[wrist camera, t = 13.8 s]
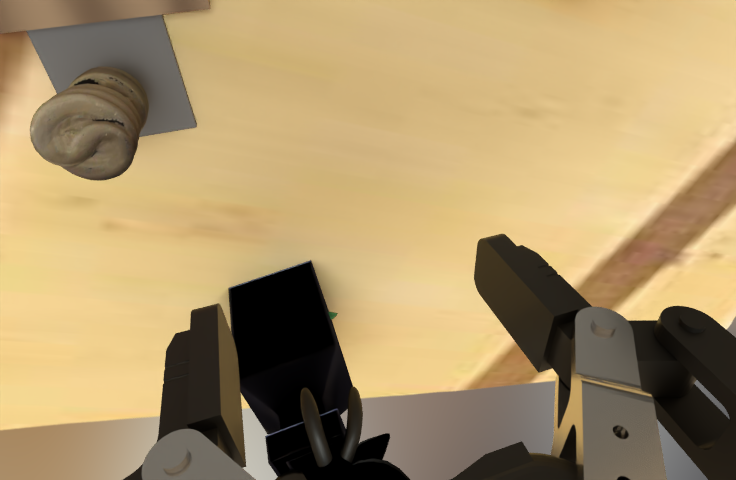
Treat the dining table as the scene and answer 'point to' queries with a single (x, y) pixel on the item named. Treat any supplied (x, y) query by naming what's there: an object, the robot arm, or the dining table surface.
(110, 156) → the tan ridged rounded piece
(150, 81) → the mat
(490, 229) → the dining table surface
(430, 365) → the dining table surface
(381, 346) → the dining table surface
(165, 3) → the socket block
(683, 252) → the dining table surface
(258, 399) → the vase
